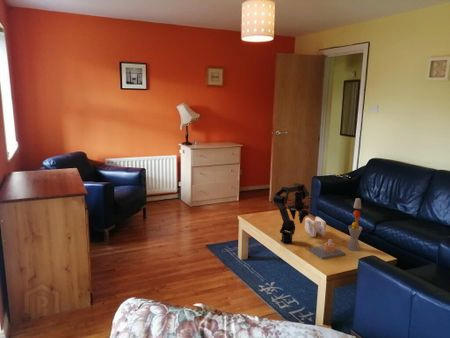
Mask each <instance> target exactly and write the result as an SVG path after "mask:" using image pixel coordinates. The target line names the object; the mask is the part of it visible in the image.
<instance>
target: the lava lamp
mask: <svg viewBox="0 0 450 338" xmlns="http://www.w3.org/2000/svg"><path fill="white" fill-rule="evenodd" d="M353 209H356V210H354V211H353V216H354V220H355V221H354V222H352V224H350V225H347V226H348V230H349V235H350V238H349V240H348V243H347V245H346V249H347V250H350V251H354V252H359V251H360V250H361V246H360V243H359V236H360V234H361V232H362V230H363V227H362V226H360V225H359V220H360V215H361V212H360V210H359V209H362V201H361V198H359V197H358V198H357V197H356V198H355V201H354V203H353Z"/></svg>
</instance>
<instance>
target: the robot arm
mask: <svg viewBox="0 0 450 338" xmlns="http://www.w3.org/2000/svg"><path fill="white" fill-rule="evenodd" d="M291 193H293V196H294V201H293V202H292V203H293V204H289V205H287V204H288V200H289V199H290V198H289V197H290V196H289V194H291ZM283 194H285V196H284V195H283ZM309 197H310V192H309V191H308V188H307V187H306V186H305V184H303V183H299V182H296V183H293V185H288V186H282V187H281V188H280V189H279V190H278V191H276V193H275V194H274V196H273V198H272V200H273V201H272V202H273V203H274V205H275V206H276V207H277V208H278V210H279V213H280V217H281V219H282V224H281V228H280V229H279V234H281V239H280V242H281V243H282V244H284V245H288V244H289V245H290V244H293V236H294V235H295V231H296V226H295V225H296V224H295V221H294V220H295V219H296V214H297V213H296V212H298V214H297V215H298V219H299V223H300V224H302V223H303V221H304V219H305V218H306V217H308V216H309V214H310V212H309V209H310V205H308V204H306V203H305V201H304V200H305V199H308V198H309ZM288 211H289V212H288ZM289 213H290V214H289ZM290 215H291V217H292V219H291V218H290Z"/></svg>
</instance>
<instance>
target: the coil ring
mask: <svg viewBox="0 0 450 338" xmlns="http://www.w3.org/2000/svg"><path fill="white" fill-rule="evenodd" d="M323 246H324V251H326V252H335V247H336V248H337V246H336V243H334V242H332V246H329V245H328V241H327V242H324V244H323Z"/></svg>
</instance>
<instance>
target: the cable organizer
mask: <svg viewBox="0 0 450 338" xmlns="http://www.w3.org/2000/svg"><path fill="white" fill-rule="evenodd" d="M304 219H305V220H304V231H305V232H306V233H307V234H308V235H309V236H310V237H312V238H316V236H317V233H318V234H319V235H320V236H322V237H324V236H326V229H327V223H326V221H325V220H324V219H322V218H321V217H319V216H315V217H314V220H312V219H311V218H310V217H305V218H304Z"/></svg>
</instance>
